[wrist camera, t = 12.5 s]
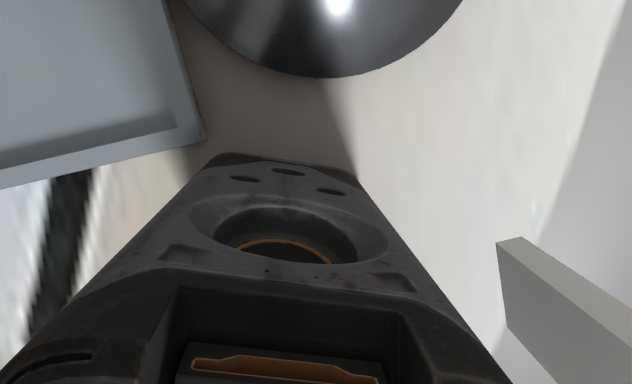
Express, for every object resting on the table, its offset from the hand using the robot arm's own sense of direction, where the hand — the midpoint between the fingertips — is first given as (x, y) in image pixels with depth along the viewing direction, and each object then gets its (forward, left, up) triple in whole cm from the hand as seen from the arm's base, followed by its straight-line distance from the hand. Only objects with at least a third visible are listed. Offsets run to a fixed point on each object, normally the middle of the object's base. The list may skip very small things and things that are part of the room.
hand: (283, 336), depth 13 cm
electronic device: (0, 0, -14) cm, 14 cm away
